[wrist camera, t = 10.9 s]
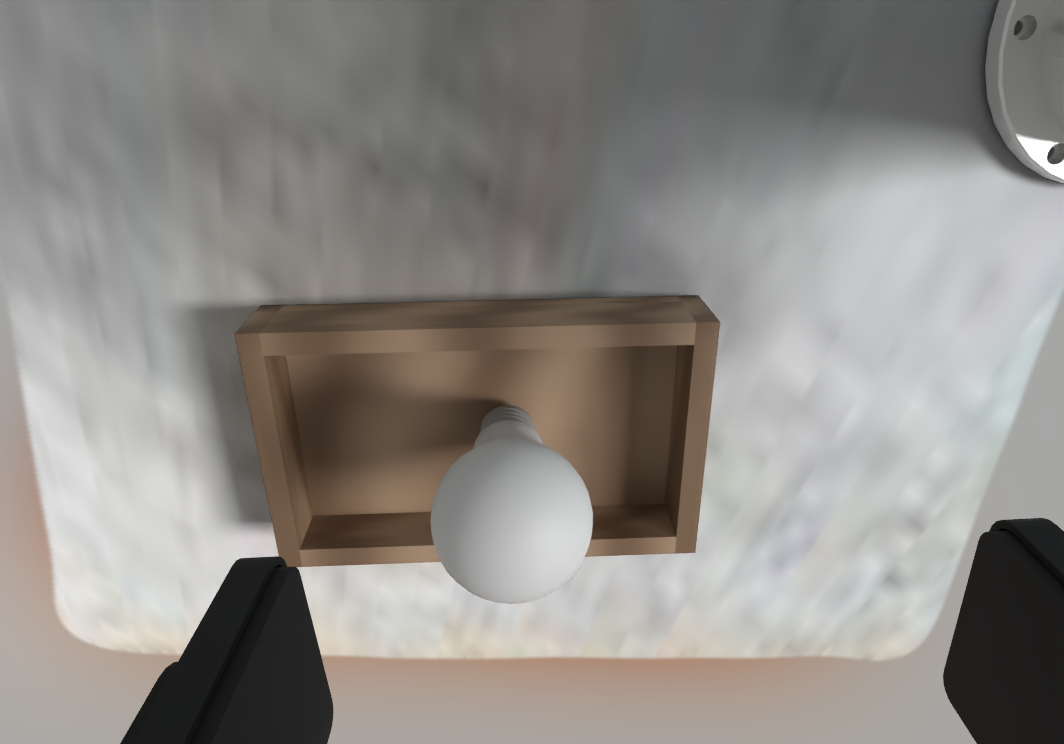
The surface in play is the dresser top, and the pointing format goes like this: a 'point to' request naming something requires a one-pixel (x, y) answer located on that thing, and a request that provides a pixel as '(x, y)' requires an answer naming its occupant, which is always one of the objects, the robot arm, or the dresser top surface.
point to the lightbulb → (511, 513)
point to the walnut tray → (476, 414)
